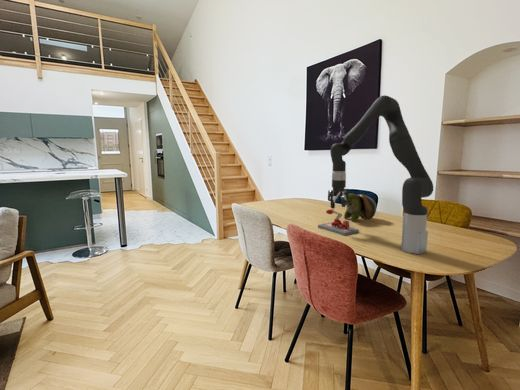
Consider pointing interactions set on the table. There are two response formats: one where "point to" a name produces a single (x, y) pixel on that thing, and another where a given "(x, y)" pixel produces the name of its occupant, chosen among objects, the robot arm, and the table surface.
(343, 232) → the board
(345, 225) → the toy fire truck
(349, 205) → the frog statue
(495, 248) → the table surface
